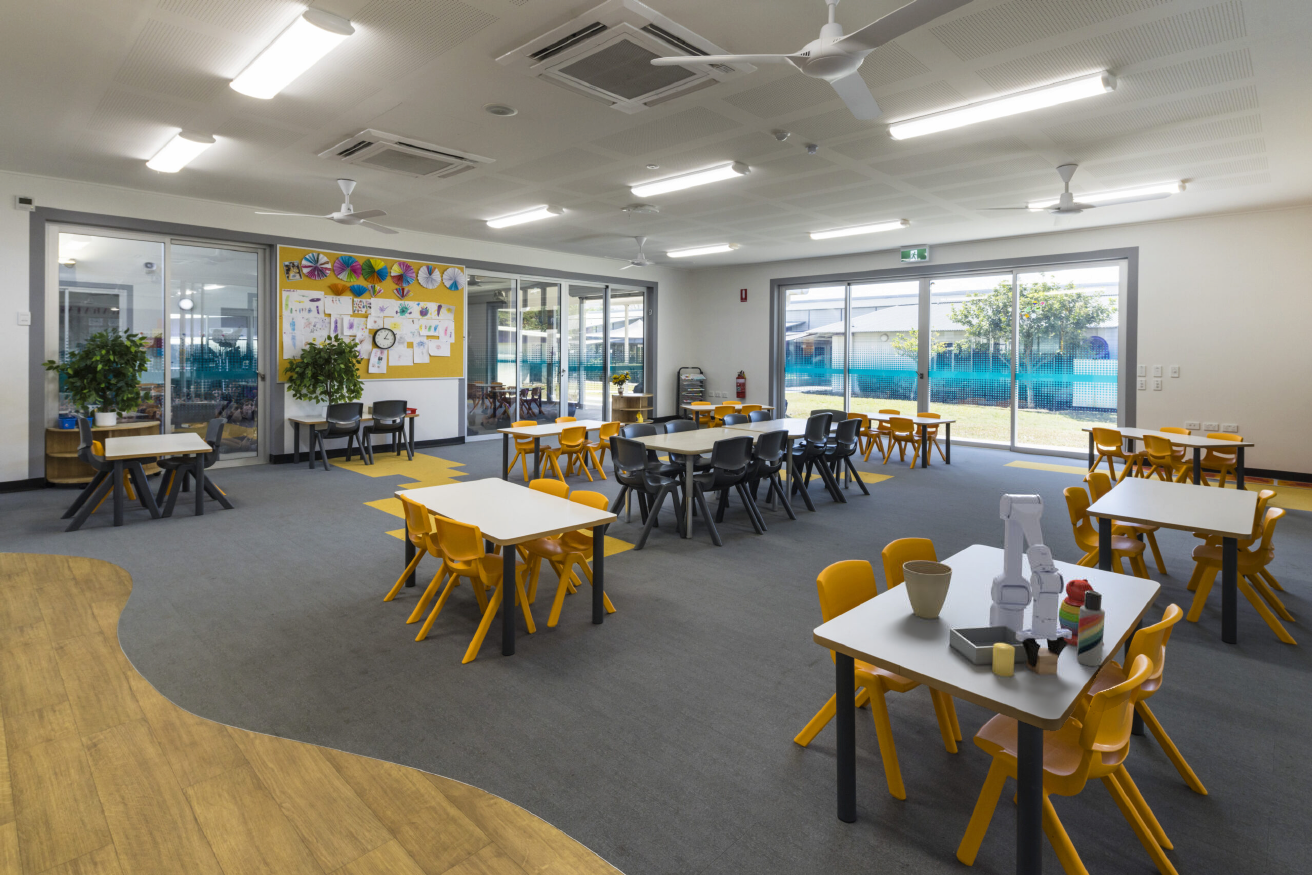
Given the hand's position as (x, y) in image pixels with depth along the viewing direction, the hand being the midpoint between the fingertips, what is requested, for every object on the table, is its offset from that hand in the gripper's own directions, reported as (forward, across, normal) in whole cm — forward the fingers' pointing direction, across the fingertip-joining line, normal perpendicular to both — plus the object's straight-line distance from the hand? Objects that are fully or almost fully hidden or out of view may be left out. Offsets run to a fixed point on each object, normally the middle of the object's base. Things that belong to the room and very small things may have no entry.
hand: (1041, 664), depth 178 cm
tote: (+1, -8, +11) cm, 13 cm away
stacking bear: (+2, +23, +17) cm, 29 cm away
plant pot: (+2, -12, +40) cm, 42 cm away
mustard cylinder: (+1, -11, 0) cm, 11 cm away
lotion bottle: (+2, +16, +2) cm, 16 cm away
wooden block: (+1, 0, 0) cm, 1 cm away
